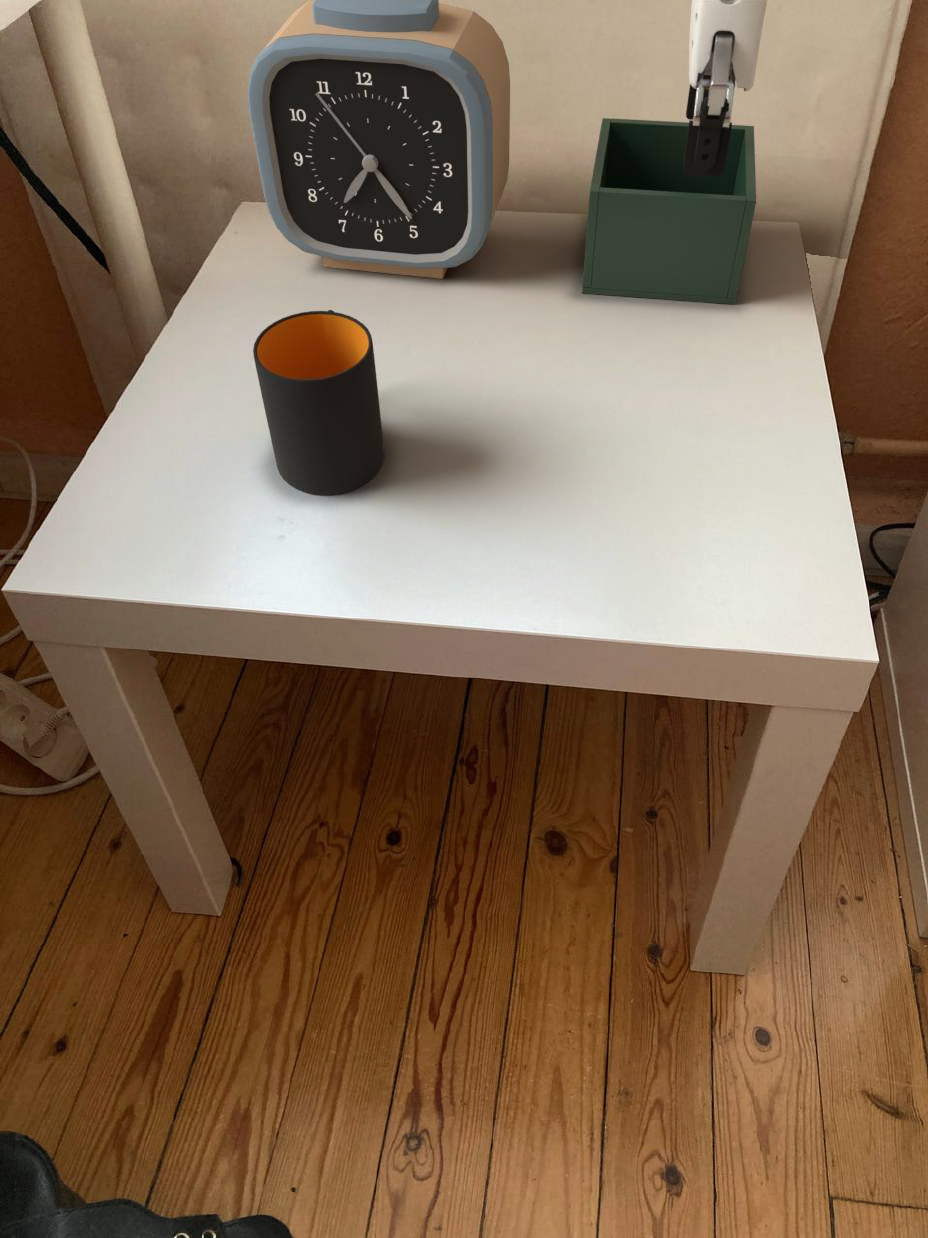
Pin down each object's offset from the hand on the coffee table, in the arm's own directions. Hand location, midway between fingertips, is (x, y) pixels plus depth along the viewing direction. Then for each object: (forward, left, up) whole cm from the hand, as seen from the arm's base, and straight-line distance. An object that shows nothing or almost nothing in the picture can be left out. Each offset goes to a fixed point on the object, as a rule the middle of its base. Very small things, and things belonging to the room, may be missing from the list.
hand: (703, 145), depth 84 cm
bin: (+2, -3, -12) cm, 13 cm away
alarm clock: (+27, -1, -12) cm, 30 cm away
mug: (+26, +27, -12) cm, 39 cm away
